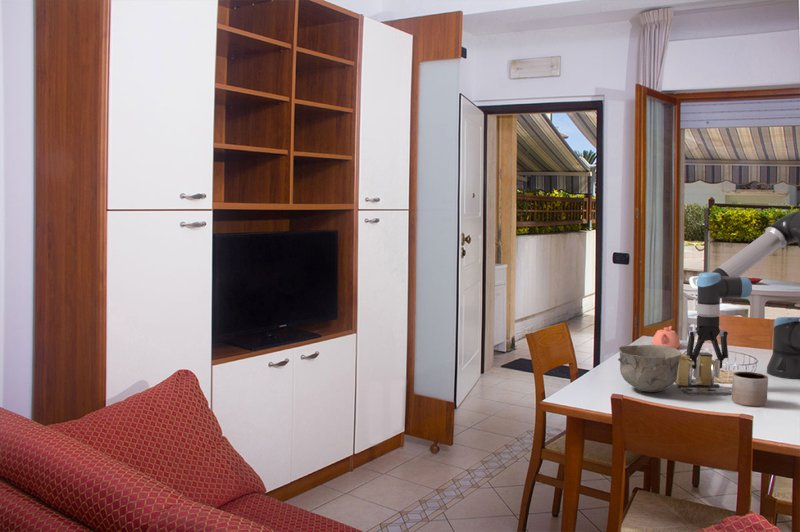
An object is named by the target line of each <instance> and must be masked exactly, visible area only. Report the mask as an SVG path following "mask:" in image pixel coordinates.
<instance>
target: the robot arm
mask: <svg viewBox="0 0 800 532" xmlns="http://www.w3.org/2000/svg"><path fill="white" fill-rule="evenodd" d="M797 242H798V249H799V250H800V210H798V211H793V212H790V213H788V214H786V215H784V216H782V217H781V218H779V219H778V220H776V221H774V222H773V223H771V224H770V225H769V226H768V227H766V228H765V231H764V233H763V234H761V235H760V236H759V237H757V238H756V239H754V240H753V241H752V242H751V243H749V244H748V245H746V246H745V247H744V248H743V249H741V250H739V251H738V252H737V253H735V254H734V255H732V256H731V257H730V258H729V259H728V260H726V261H724V262H723V263H722V264H720V265H719V266H718V267H717V268H715V269H714V270H712V271H711V272H709V271H708V272H707V271H706V272H700V273H699V274H698V277H697V281H696V286H697V297H696V298H697V305H696V311H697V312H696V313H697V316H696V328H695V330H688V331H687V336H688V341H687V349H686V354H687V355H688V356H690V360H692V361H693V362H694V365H692V368H693V378H695V379H696V378H699V360H698V355H699V353H700V352H701V350H702V348H703V345H704V343H705V342H707V341H709V342H711V344H712V347H713V350H714V352H715V356H716V358H715V359H714V361H716V362H717V365H715V368H714V378H716V379H720V377H721V375H720V374H721V370H720V369H722V368H723V361H724V360H726V359H729V352H728V339H727V338H728V335H729V333H728V331H726V330H721V329H720V316H719V315H720V311H721V310H720V309H721V308H720V306H721V305H720V304H721V299H742V298H748V297H750V296H751V294H752V291H753V284H752V282H751V280H750V279H749V278H748V277H746V276H745V277H743V276H742V275H744V274H745V273H746V272H748V271H749V270H751V269H752V268H753V267H754V266H756V265H758V264H759V263H760V262H761V261H763V260H764V259H765V258H767V257H768V256H770V255H771V254H772V253H773V252H775V251H776V250H778V249H779V248H780V249H782V248H785V247H786V246H788V245H790V244H793V243H797ZM696 335H697V336H698V337H697V340H696V343H695V338H696ZM718 336H719V339H720V345H719V342H718V338H717V337H718ZM772 340H773V342H772V343H773V344H772V354H771V357H770V359H769V362H768V363H767V365H766V374H768V375H771V376H774V377H780V378H783V379H785V378H786V379H795V380H797V379H800V316H779V317H776V318H775V319H774V322H773V338H772ZM720 348H721V349H720Z"/></svg>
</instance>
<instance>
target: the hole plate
mask: <svg viewBox="0 0 800 532" xmlns="http://www.w3.org/2000/svg"><path fill="white" fill-rule="evenodd" d="M681 391H682V392H683V393H685V394H686V395H689V396H693V395H692V394H695V395H694V396H732V389H729V388H728V387H720V388H681ZM690 394H691V395H690ZM700 394H701V395H700Z"/></svg>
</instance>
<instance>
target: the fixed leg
mask: <svg viewBox="0 0 800 532" xmlns="http://www.w3.org/2000/svg"><path fill="white" fill-rule="evenodd" d="M681 354H682V355H681V357H680V360H679V365H678V370H677V379H676V380H675V382H674V384H675V385H676V384H678V385H679V386H688V387H691V383H692V379H691V373H692V374H693V372H692V365H694V362H693V361H692V360H691V359H690V356H688V355H687V353H681Z"/></svg>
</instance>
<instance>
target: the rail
mask: <svg viewBox="0 0 800 532" xmlns="http://www.w3.org/2000/svg"><path fill="white" fill-rule="evenodd" d="M675 386H676V388H678V389H682V388H721V386H720V384H719V383H714V387H711V385H701V384H699V383H697V382H694V383H693V382H691V387H688V386H679V385H678V384H676V383H675Z"/></svg>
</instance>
